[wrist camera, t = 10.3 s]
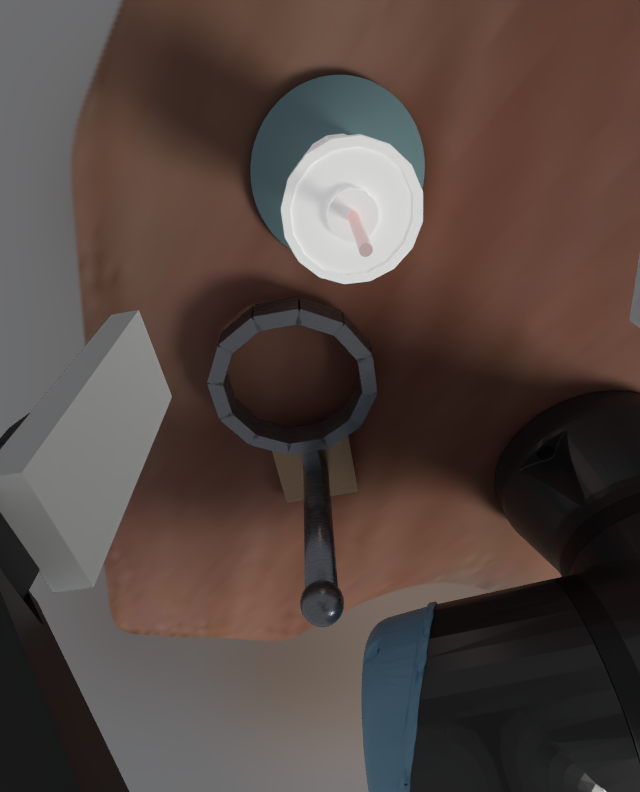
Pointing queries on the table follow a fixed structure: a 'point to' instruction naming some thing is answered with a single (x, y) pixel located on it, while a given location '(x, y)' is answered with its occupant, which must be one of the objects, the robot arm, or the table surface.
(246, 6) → the table surface
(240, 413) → the ring stand
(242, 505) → the table surface
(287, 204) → the beverage cup
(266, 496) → the table surface
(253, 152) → the coaster
